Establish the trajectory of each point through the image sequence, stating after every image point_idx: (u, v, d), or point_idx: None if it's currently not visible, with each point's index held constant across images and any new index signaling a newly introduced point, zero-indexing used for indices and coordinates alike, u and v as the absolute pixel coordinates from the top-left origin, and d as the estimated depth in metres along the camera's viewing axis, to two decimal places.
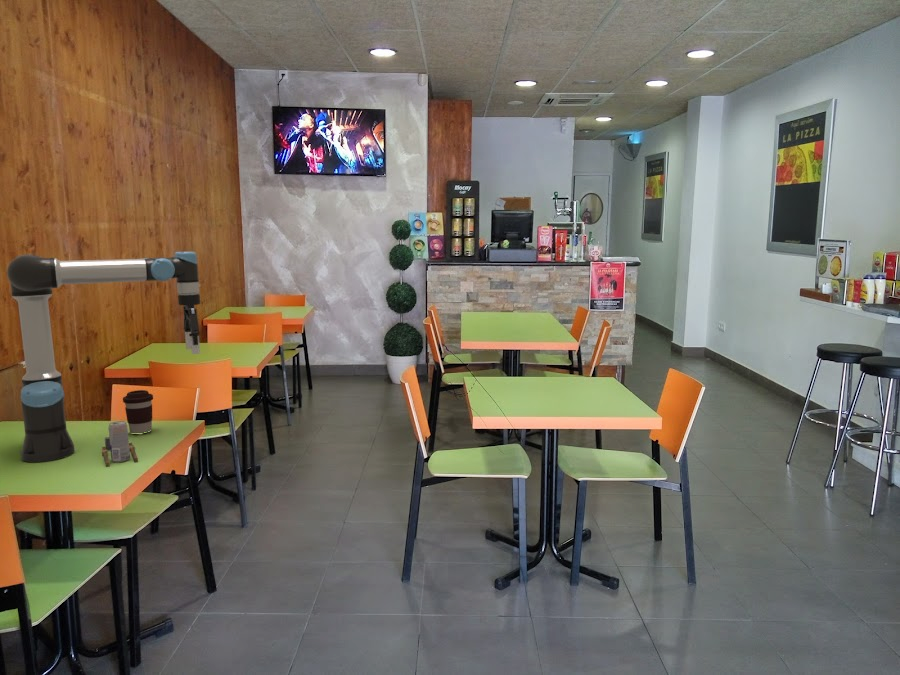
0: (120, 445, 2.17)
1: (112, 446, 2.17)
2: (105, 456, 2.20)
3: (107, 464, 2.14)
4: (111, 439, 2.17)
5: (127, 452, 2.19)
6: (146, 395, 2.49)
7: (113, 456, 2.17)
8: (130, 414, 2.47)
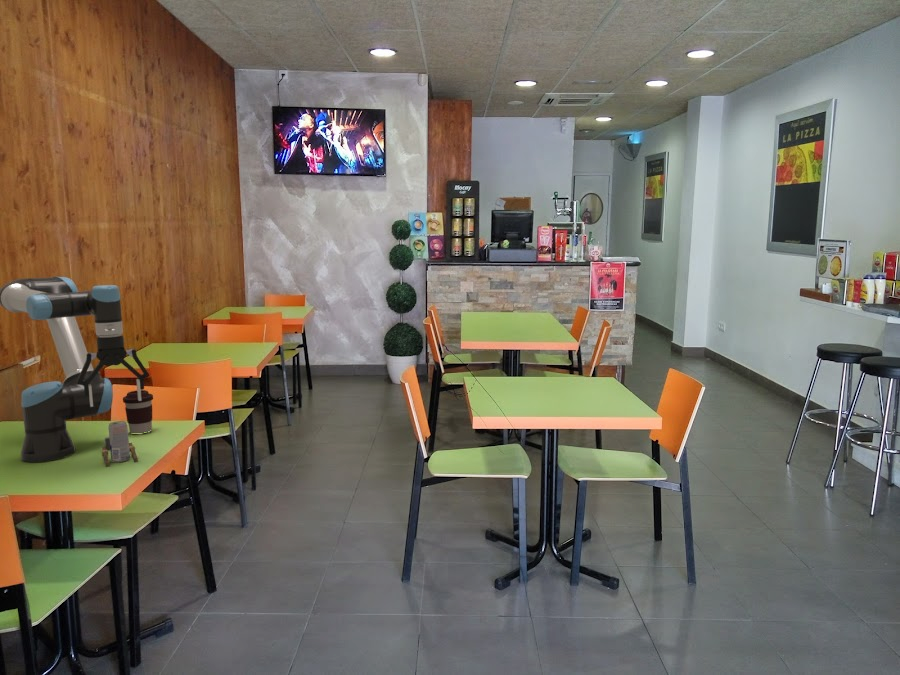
0: (120, 445, 2.17)
1: (112, 446, 2.17)
2: (105, 456, 2.20)
3: (107, 464, 2.14)
4: (111, 439, 2.17)
5: (127, 452, 2.19)
6: (146, 395, 2.49)
7: (113, 456, 2.17)
8: (130, 414, 2.47)
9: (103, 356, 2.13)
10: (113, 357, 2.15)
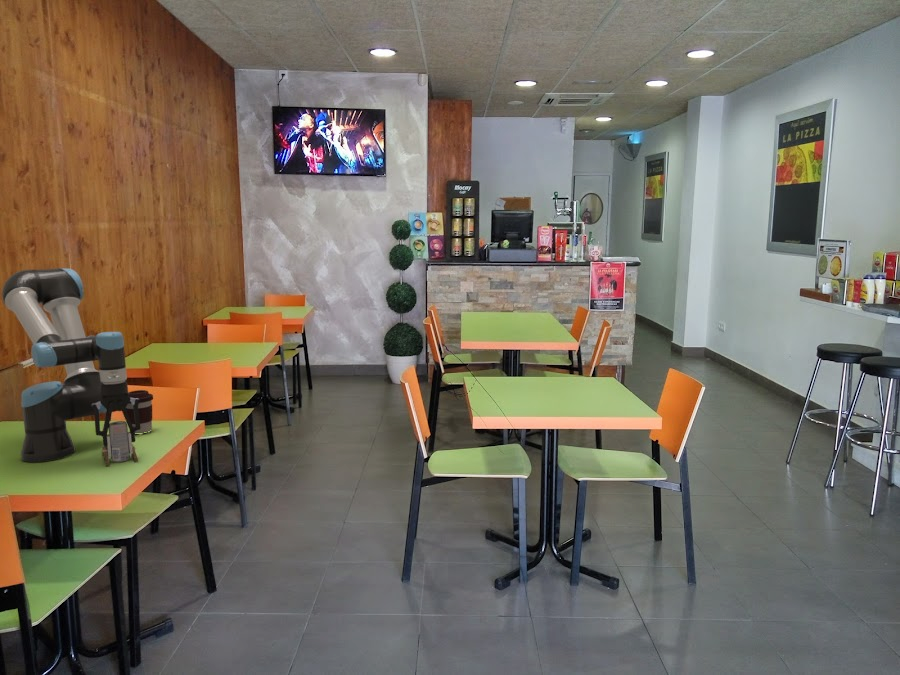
0: (120, 445, 2.17)
1: (112, 446, 2.17)
2: (105, 456, 2.20)
3: (107, 464, 2.14)
4: (111, 439, 2.17)
5: (127, 452, 2.19)
6: (146, 395, 2.49)
7: (113, 456, 2.17)
8: (130, 414, 2.47)
9: (107, 401, 2.15)
10: (117, 402, 2.17)
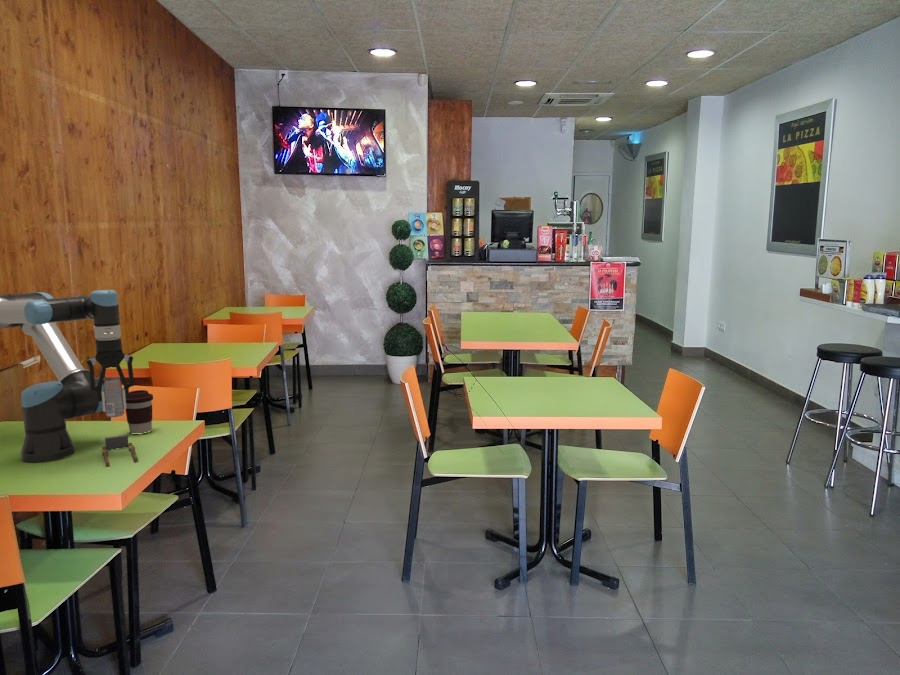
0: (114, 400, 2.23)
1: (106, 401, 2.23)
2: (105, 456, 2.20)
3: (107, 464, 2.14)
4: (105, 394, 2.23)
5: (121, 407, 2.25)
6: (146, 395, 2.49)
7: (107, 411, 2.23)
8: (130, 414, 2.47)
9: (102, 357, 2.21)
10: (111, 358, 2.23)
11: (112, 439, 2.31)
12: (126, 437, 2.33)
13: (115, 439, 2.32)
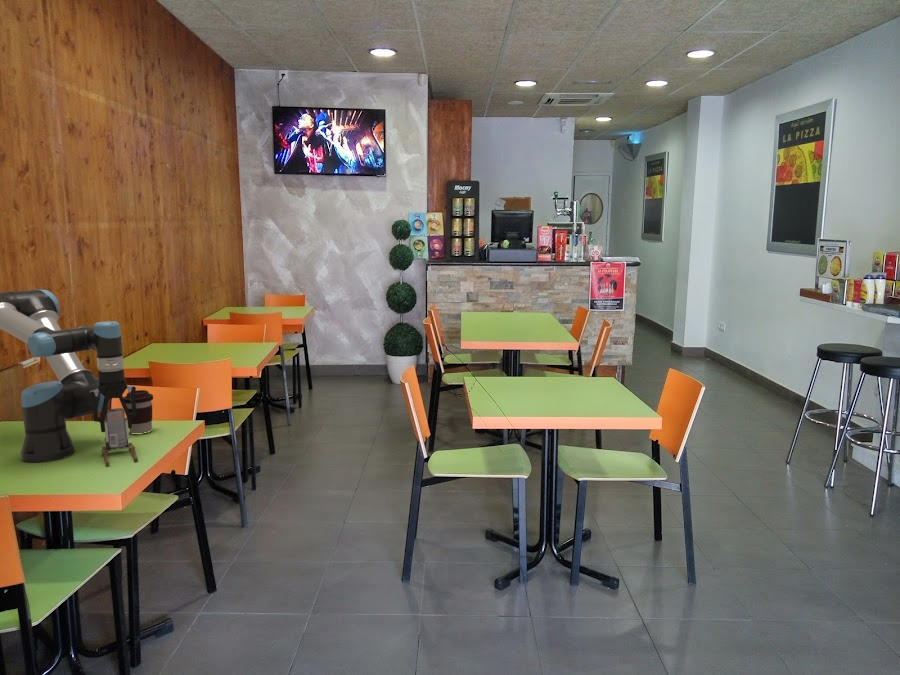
0: (117, 431, 2.24)
1: (109, 432, 2.24)
2: (105, 456, 2.20)
3: (107, 464, 2.14)
4: (108, 425, 2.24)
5: (124, 438, 2.27)
6: (146, 395, 2.49)
7: (110, 442, 2.25)
8: None
9: (105, 388, 2.23)
10: (114, 389, 2.24)
11: None
12: None
13: None
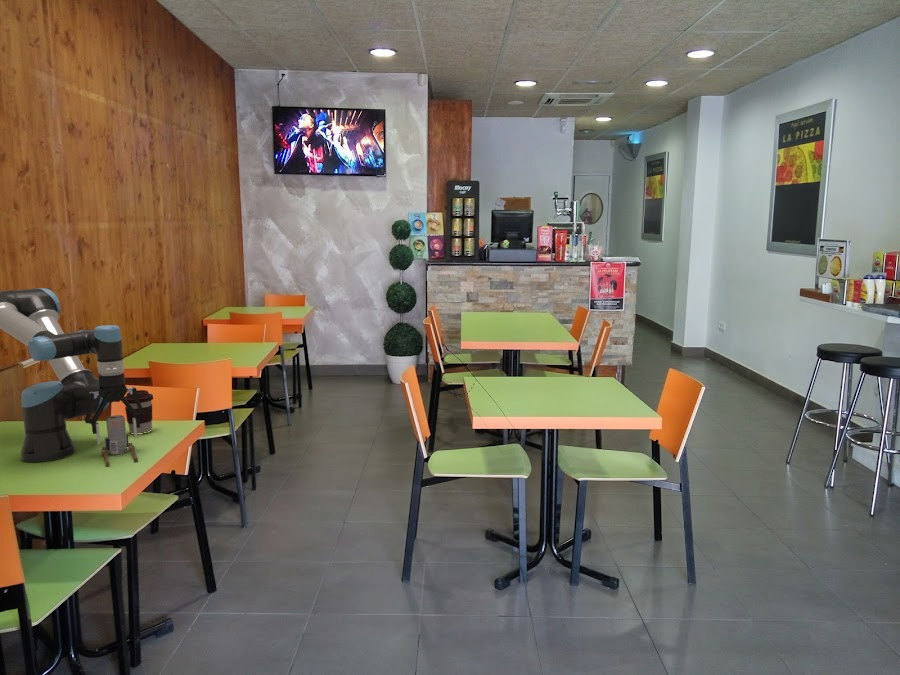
0: (117, 438, 2.25)
1: (110, 439, 2.25)
2: (105, 456, 2.20)
3: (107, 464, 2.14)
4: (109, 432, 2.25)
5: (124, 445, 2.27)
6: (146, 395, 2.49)
7: (111, 449, 2.25)
8: (130, 414, 2.47)
9: (105, 393, 2.23)
10: (114, 394, 2.24)
11: None
12: (126, 437, 2.33)
13: None
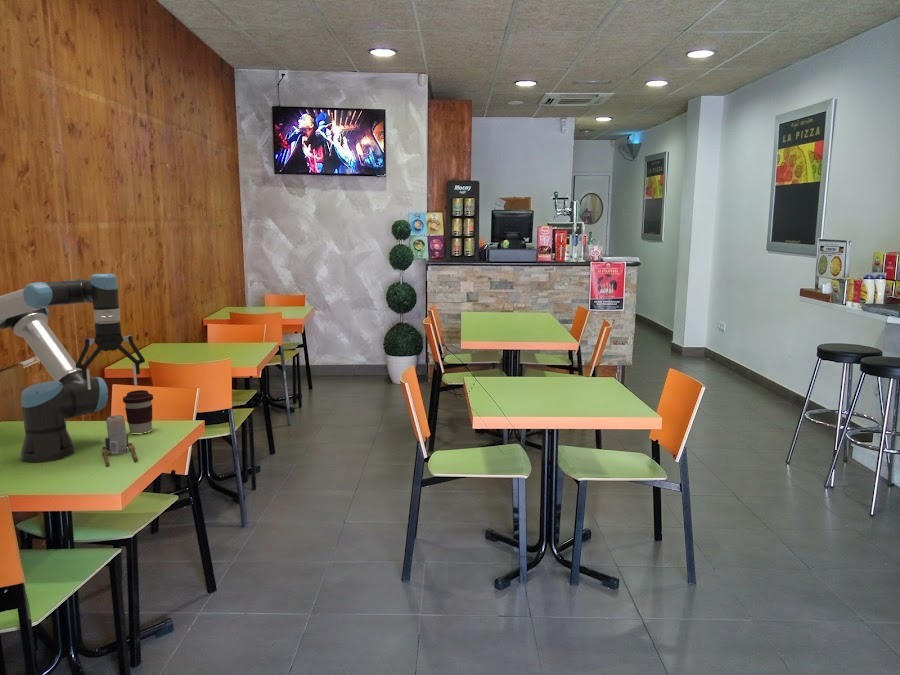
0: (117, 438, 2.25)
1: (110, 439, 2.25)
2: (105, 456, 2.20)
3: (107, 464, 2.14)
4: (109, 432, 2.25)
5: (124, 445, 2.27)
6: (146, 395, 2.49)
7: (111, 449, 2.25)
8: (130, 414, 2.47)
9: (101, 341, 2.23)
10: (110, 343, 2.25)
11: None
12: (126, 437, 2.33)
13: None
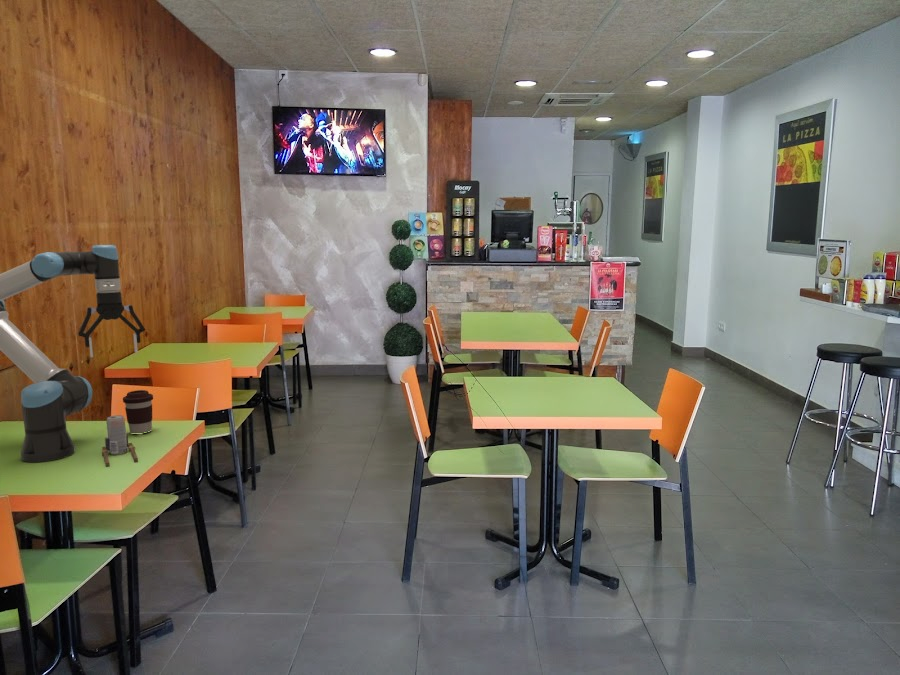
0: (117, 438, 2.25)
1: (110, 439, 2.25)
2: (105, 456, 2.20)
3: (107, 464, 2.14)
4: (109, 432, 2.25)
5: (124, 445, 2.27)
6: (146, 395, 2.49)
7: (111, 449, 2.25)
8: (130, 414, 2.47)
9: (102, 310, 2.31)
10: (111, 312, 2.32)
11: None
12: (126, 437, 2.33)
13: None
